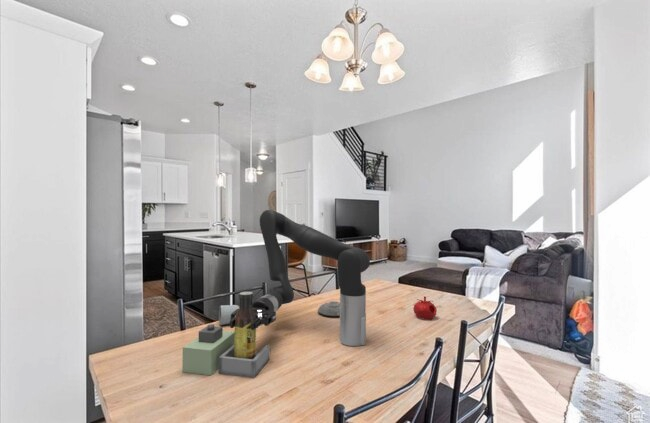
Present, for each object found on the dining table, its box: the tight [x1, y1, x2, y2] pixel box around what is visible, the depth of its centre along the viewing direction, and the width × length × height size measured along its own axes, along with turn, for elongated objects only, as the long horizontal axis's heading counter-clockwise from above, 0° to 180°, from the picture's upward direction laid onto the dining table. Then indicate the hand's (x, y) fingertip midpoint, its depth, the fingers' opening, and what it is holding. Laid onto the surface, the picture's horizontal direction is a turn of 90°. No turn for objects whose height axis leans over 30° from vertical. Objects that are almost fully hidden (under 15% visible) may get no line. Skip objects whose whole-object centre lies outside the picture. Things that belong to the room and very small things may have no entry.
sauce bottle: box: [234, 291, 257, 359], centre depth 91 cm, size 7×6×20 cm
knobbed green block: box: [182, 323, 271, 378], centre depth 92 cm, size 22×14×11 cm, turn 79°
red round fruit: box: [412, 296, 438, 321], centre depth 136 cm, size 10×10×9 cm
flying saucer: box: [317, 300, 340, 317], centre depth 141 cm, size 15×15×6 cm
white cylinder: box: [218, 304, 240, 326], centre depth 128 cm, size 11×8×8 cm
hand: (241, 325), depth 89 cm, fingers closed on sauce bottle, 6 cm apart
